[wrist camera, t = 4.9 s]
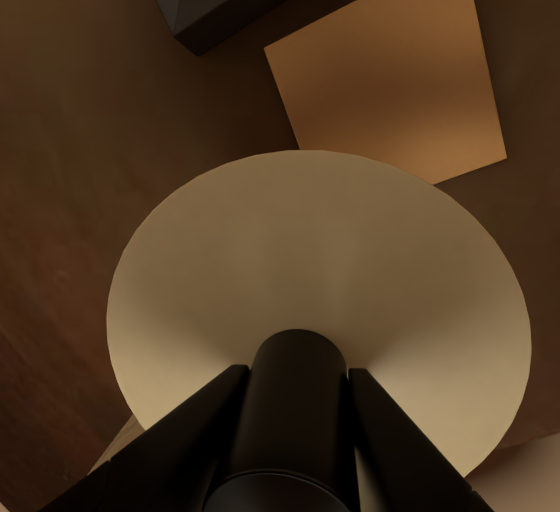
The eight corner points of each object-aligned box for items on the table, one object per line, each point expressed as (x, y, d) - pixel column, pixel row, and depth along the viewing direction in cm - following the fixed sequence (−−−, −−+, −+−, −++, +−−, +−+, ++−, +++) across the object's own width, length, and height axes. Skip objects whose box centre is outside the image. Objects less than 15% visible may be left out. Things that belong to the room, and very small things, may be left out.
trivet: (501, 158, 17) (507, 158, 17) (326, 221, 19) (326, 223, 19) (457, -48, 15) (462, -56, 14) (265, 51, 17) (263, 47, 17)
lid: (610, 281, 7) (1050, 471, 3) (368, 534, 11) (398, 800, 6) (203, 67, 7) (4, -83, 3) (89, 392, 11) (-82, 563, 6)
